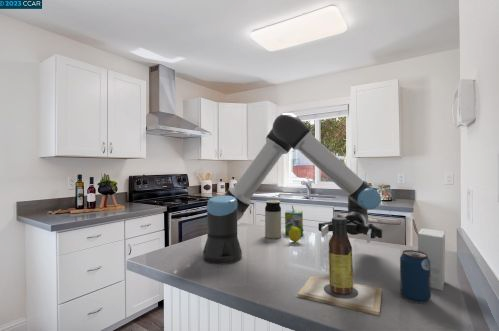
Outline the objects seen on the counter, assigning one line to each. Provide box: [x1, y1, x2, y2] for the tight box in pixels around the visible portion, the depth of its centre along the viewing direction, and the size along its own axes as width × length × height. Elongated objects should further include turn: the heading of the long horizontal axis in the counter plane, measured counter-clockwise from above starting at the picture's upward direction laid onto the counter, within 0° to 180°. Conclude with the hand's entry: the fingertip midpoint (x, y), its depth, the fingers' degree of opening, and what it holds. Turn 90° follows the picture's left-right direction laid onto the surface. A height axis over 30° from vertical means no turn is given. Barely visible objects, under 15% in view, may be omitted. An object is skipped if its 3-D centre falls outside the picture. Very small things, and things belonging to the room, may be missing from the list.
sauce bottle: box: [328, 216, 354, 294], centre depth 75 cm, size 7×6×20 cm
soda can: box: [399, 249, 432, 304], centre depth 73 cm, size 7×7×12 cm
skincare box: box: [417, 227, 446, 291], centre depth 82 cm, size 8×7×16 cm
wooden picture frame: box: [297, 275, 383, 316], centre depth 75 cm, size 20×14×1 cm
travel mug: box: [264, 199, 282, 240], centre depth 137 cm, size 8×8×18 cm
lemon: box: [286, 223, 304, 243], centre depth 126 cm, size 7×6×10 cm
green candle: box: [284, 204, 304, 236], centre depth 144 cm, size 9×9×15 cm
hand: (344, 235), depth 84 cm, fingers open, 13 cm apart
